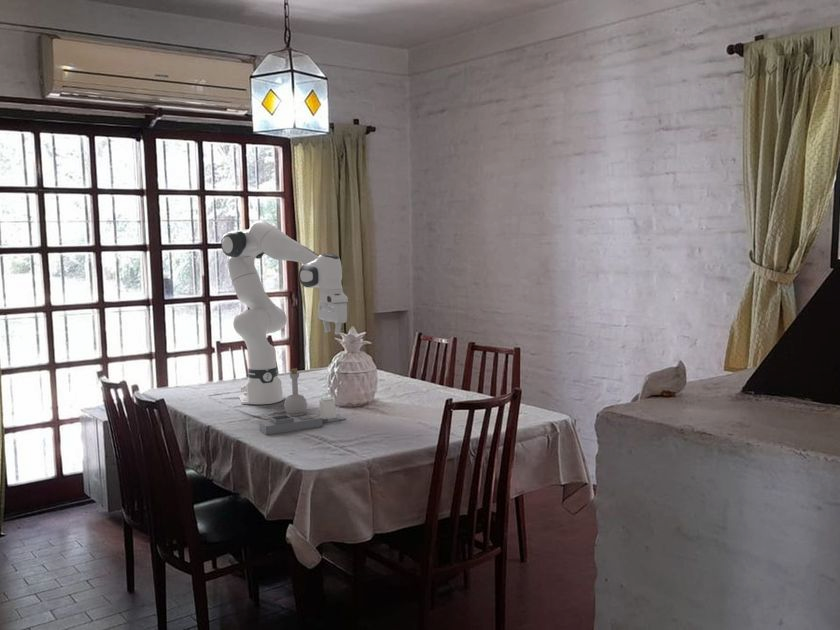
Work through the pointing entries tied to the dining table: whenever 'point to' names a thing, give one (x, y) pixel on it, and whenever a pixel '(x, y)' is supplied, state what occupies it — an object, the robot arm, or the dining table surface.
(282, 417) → the power strip
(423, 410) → the dining table surface
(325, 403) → the block
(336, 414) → the mat
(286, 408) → the potion bottle
